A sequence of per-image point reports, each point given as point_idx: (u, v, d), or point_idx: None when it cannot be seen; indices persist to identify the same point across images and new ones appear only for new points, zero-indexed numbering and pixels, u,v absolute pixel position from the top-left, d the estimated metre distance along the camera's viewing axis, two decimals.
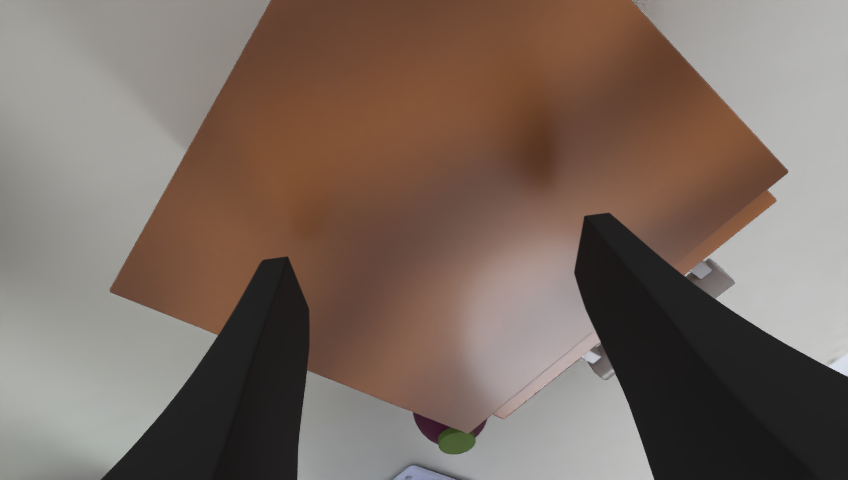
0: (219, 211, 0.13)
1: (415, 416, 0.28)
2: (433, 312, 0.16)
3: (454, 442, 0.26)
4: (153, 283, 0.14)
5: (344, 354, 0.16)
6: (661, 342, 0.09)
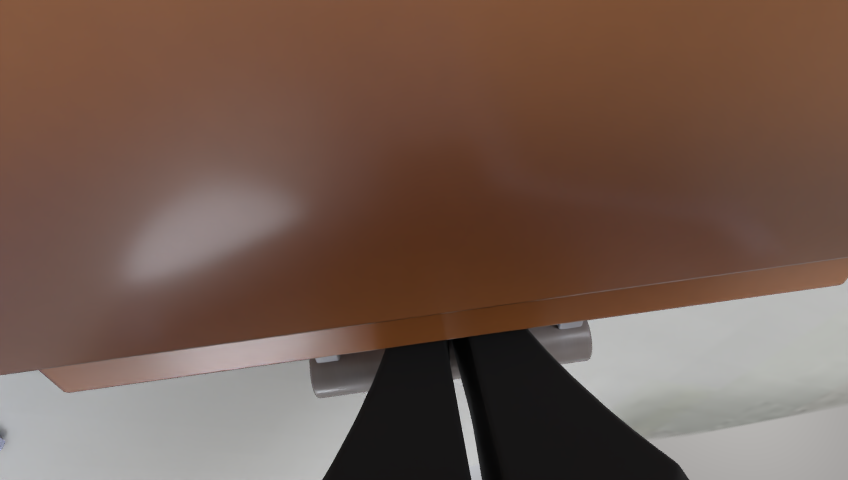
0: None
1: None
2: None
3: None
4: None
5: None
6: (471, 369, 0.09)
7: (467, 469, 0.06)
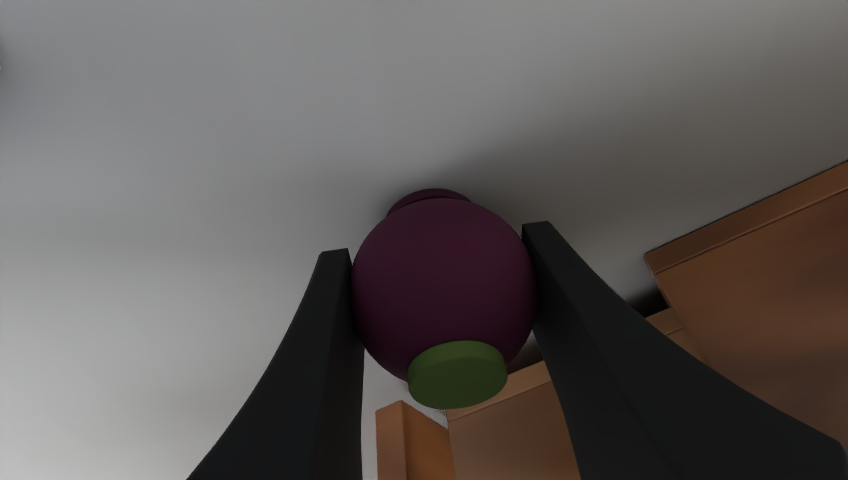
0: None
1: (491, 251, 0.10)
2: None
3: (468, 382, 0.10)
4: None
5: None
6: (581, 353, 0.09)
7: None
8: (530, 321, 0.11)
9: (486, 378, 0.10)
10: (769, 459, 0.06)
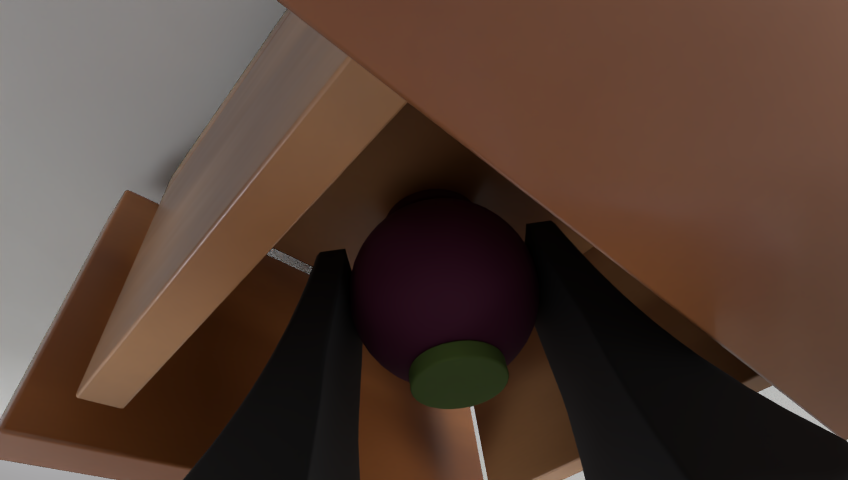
0: None
1: (492, 251, 0.10)
2: None
3: (469, 382, 0.10)
4: None
5: None
6: (586, 353, 0.09)
7: None
8: (531, 321, 0.11)
9: (487, 378, 0.10)
10: (776, 457, 0.06)
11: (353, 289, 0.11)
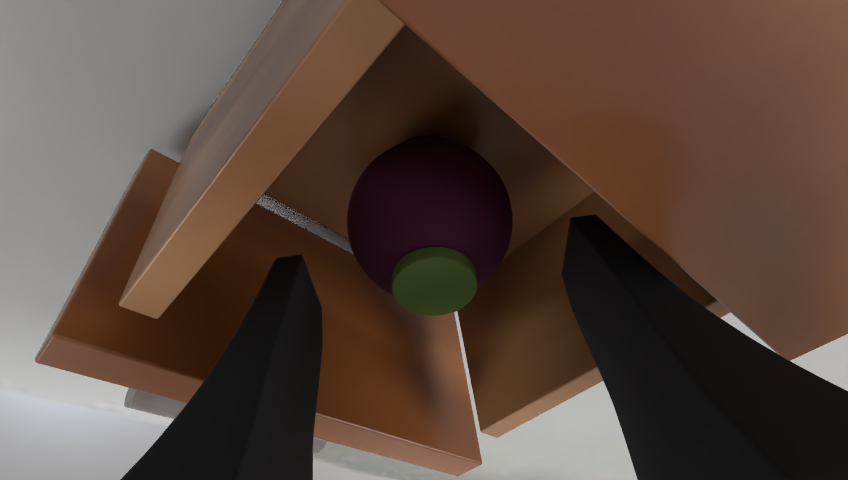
0: None
1: (467, 175, 0.12)
2: None
3: (443, 286, 0.11)
4: None
5: None
6: (643, 345, 0.09)
7: None
8: (501, 242, 0.12)
9: (458, 283, 0.11)
10: None
11: (349, 210, 0.12)
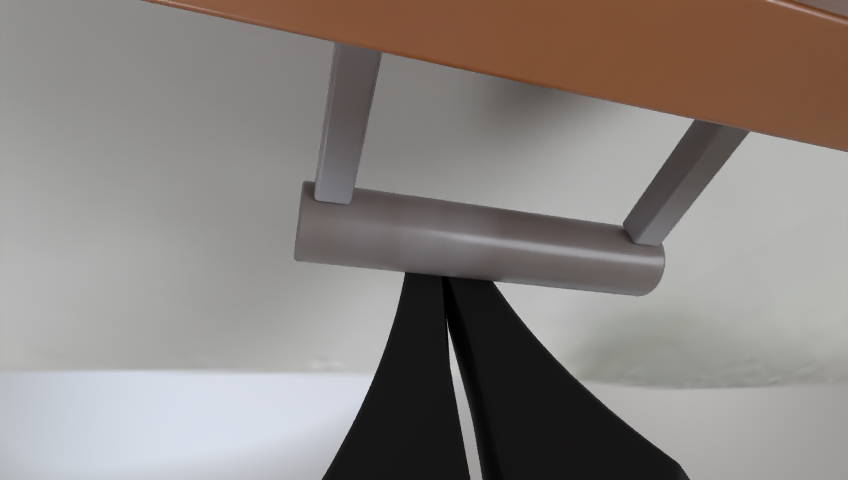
0: None
1: None
2: None
3: None
4: None
5: None
6: (472, 369, 0.09)
7: (467, 469, 0.06)
8: None
9: None
10: None
11: None
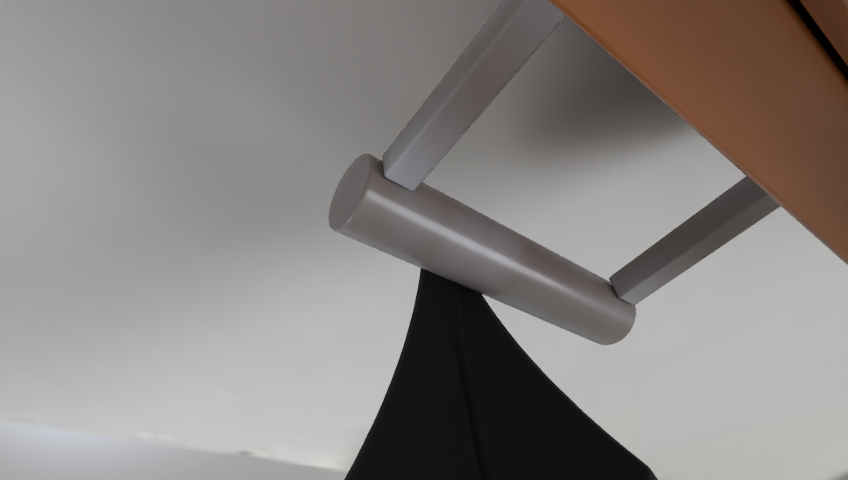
0: None
1: None
2: None
3: None
4: None
5: None
6: None
7: (492, 465, 0.06)
8: None
9: None
10: None
11: None
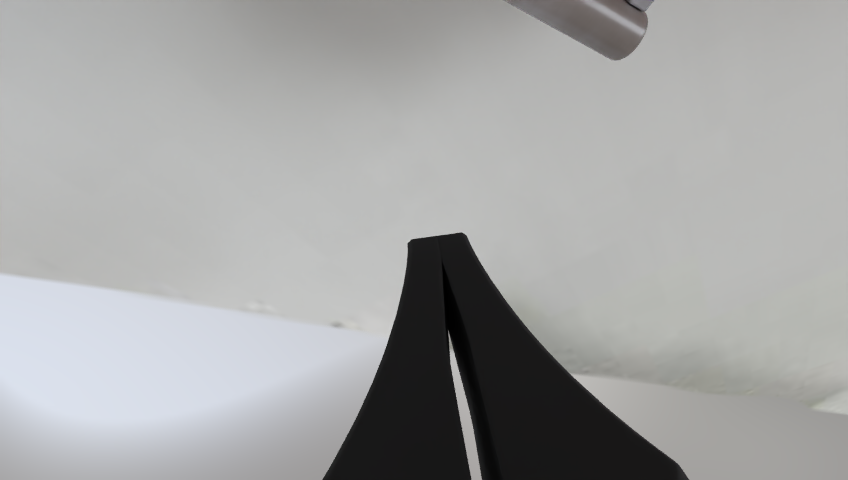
0: None
1: None
2: None
3: None
4: None
5: None
6: (471, 369, 0.09)
7: (468, 469, 0.06)
8: None
9: None
10: None
11: None
